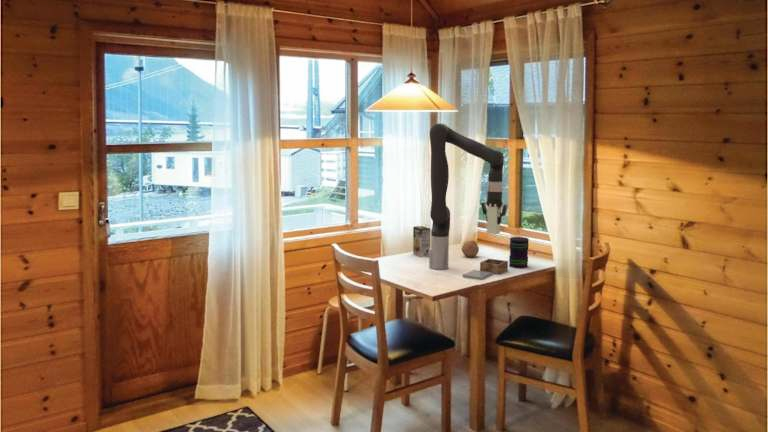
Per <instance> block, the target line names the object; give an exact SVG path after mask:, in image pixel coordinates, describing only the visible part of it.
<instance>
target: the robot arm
mask: <svg viewBox="0 0 768 432" xmlns="http://www.w3.org/2000/svg"><path fill="white" fill-rule="evenodd" d="M429 139H430V141H429V142H430V150H431V152H430V154H431V155H430V188H431V189H430V190H431V204H430V219H431V220H432V227H431V229H430V250H429V256H428V257H429V259H428V261H429V262H428V263H429V264H428V266H429V267H428V268H431V269H434V270H447V269H448V268H449V252H450V250H449V249H450V248H449V247H450V246H449V245H450V241H449V240H450V230H451V228H450V227H451V211H450V208H449V206H447V192H448V186H449V178H450V177H449V176H450V175H449V173H450V171H449V169H450V168H449V162H448V157H447V153H446V144H447V143H448V144H451V145H454V146H455V147H458V148H459V149H461V150H463V151H464V152H466V153H468V154H470V155H472V156H474V157H476V158H479V159H482V160H483V161H485V162H486V163H488V164H489V171H488V174H487V175H488V177H487V178H488V180H487V191H486V196H487V197H486V201H485V202H481V203H480V205H481V210H482V211H481V212H482V215H485V216H486V218H485V220H486V223H487V213H488V209H487V207H488V206H489V207H498V209H500V207H501V209H500V210H498V209H497V213H498V220H497V224H500V225H501V223H502V218H503V217H504V216H506V214H507V210H508V208H509V207H508V206H509V205H508V204H505V203H503V187H504V186H503V171H504V170H503V169H504V161H505V158H504V153H503V152H502V151H501V150H498V149H496V150H495V149H493V148H490V147H488V146H487V145H486V144H483V143H482V142H479V141H477V140H474V139H472V138H469V137H468V136H465V135H462V134H460V133H458V132H456V130H453V129H452V128H450V126H448V125H447V124H445V123H434V124H433V125H432V126H431V127H430V129H429Z"/></svg>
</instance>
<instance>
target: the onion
mask: <svg viewBox="0 0 768 432" xmlns="http://www.w3.org/2000/svg"><path fill="white" fill-rule="evenodd" d="M479 251H480V249H479V246H478V242H476V241H474V240H471V241H470V240H469V241H466V242H464V243H463V244H462V246H461V252H462V253H463V255H464V256H465V257H467V258H475V257H476V256H477V255H478V253H479Z"/></svg>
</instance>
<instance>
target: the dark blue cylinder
mask: <svg viewBox="0 0 768 432" xmlns="http://www.w3.org/2000/svg"><path fill="white" fill-rule="evenodd" d="M529 241H530V240H529V238H528V237H523V236H513V237H510V238H509V259H508V261H509V262H508V267H509V268H514V269H526V268H528V267H529V266H528V263H529V256H528V254H529V252H528V251H529V245H530V244H529V243H530V242H529Z"/></svg>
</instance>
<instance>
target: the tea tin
mask: <svg viewBox="0 0 768 432" xmlns="http://www.w3.org/2000/svg"><path fill="white" fill-rule="evenodd" d="M486 209H487V210H488V213H487V222H486V234H493V235H498V234H500V233H501V223H500V224H497V220H498V213H497V209H498V207H489V206H486ZM500 209H501V210H502V206H501V207H500ZM500 209H498V210H500Z"/></svg>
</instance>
